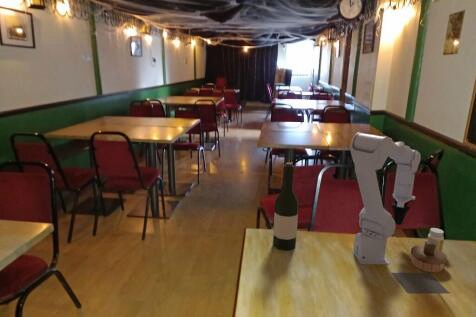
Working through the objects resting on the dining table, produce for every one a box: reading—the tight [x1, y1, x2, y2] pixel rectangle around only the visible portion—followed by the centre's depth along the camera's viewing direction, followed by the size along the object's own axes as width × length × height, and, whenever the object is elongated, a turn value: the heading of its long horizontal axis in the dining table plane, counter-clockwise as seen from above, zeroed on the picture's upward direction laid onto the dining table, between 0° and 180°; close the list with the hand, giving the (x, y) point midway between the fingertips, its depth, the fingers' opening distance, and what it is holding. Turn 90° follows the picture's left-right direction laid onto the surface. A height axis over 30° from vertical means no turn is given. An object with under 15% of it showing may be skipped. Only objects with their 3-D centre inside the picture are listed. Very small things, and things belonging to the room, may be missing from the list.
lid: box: [410, 240, 448, 265], centre depth 108 cm, size 10×10×4 cm
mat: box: [391, 272, 451, 294], centre depth 100 cm, size 12×10×1 cm
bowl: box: [410, 255, 445, 273], centre depth 110 cm, size 9×9×4 cm
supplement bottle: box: [426, 227, 445, 252], centre depth 117 cm, size 5×5×8 cm
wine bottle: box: [272, 162, 300, 252], centre depth 118 cm, size 8×8×30 cm
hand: (398, 219), depth 120 cm, fingers open, 7 cm apart
